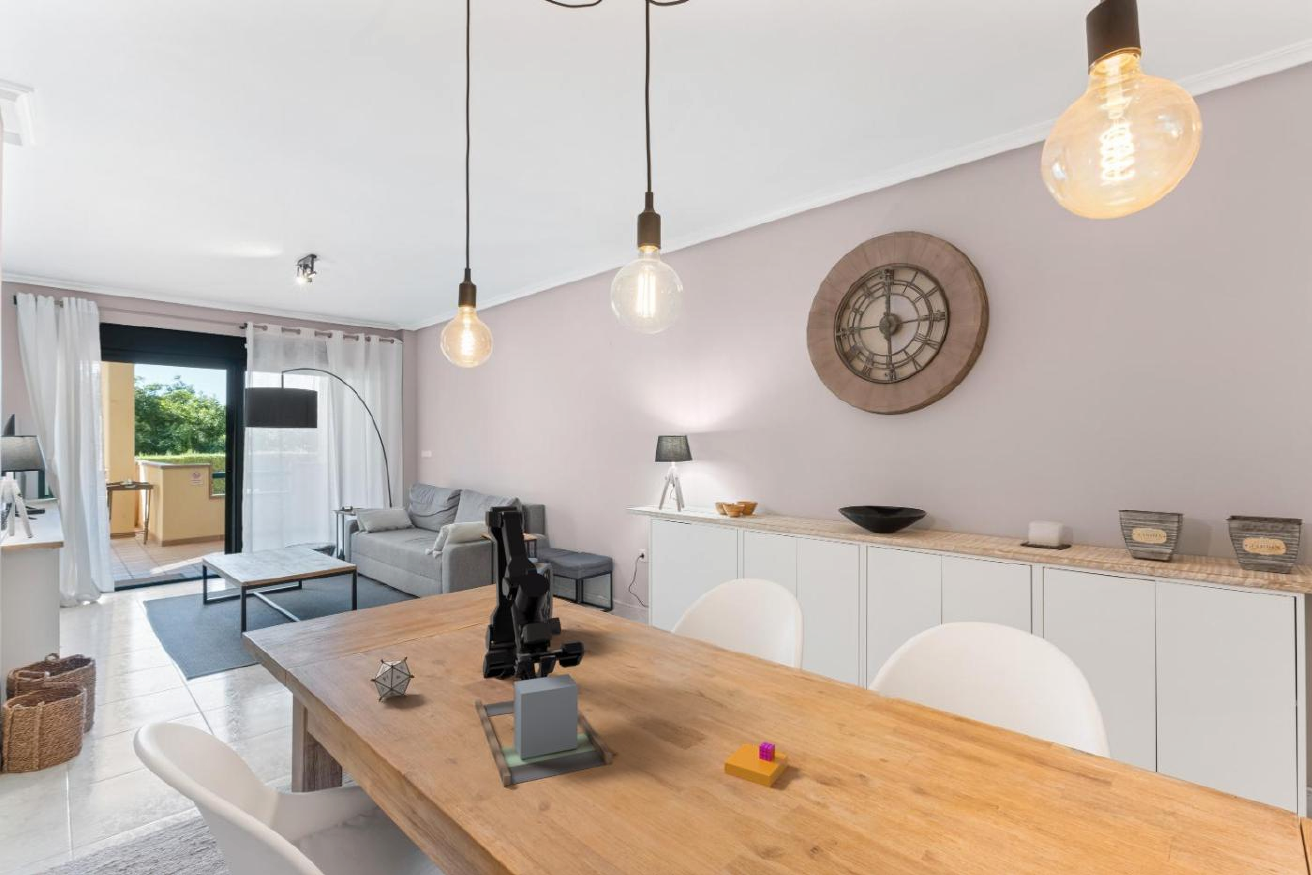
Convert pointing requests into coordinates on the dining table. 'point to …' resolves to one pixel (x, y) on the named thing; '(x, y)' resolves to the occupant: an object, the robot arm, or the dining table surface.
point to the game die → (392, 678)
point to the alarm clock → (548, 573)
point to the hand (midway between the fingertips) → (541, 702)
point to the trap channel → (542, 766)
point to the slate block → (545, 715)
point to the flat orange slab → (757, 763)
